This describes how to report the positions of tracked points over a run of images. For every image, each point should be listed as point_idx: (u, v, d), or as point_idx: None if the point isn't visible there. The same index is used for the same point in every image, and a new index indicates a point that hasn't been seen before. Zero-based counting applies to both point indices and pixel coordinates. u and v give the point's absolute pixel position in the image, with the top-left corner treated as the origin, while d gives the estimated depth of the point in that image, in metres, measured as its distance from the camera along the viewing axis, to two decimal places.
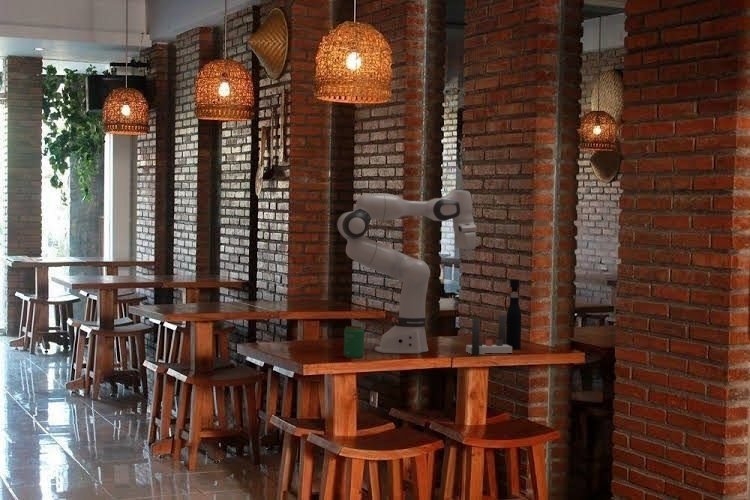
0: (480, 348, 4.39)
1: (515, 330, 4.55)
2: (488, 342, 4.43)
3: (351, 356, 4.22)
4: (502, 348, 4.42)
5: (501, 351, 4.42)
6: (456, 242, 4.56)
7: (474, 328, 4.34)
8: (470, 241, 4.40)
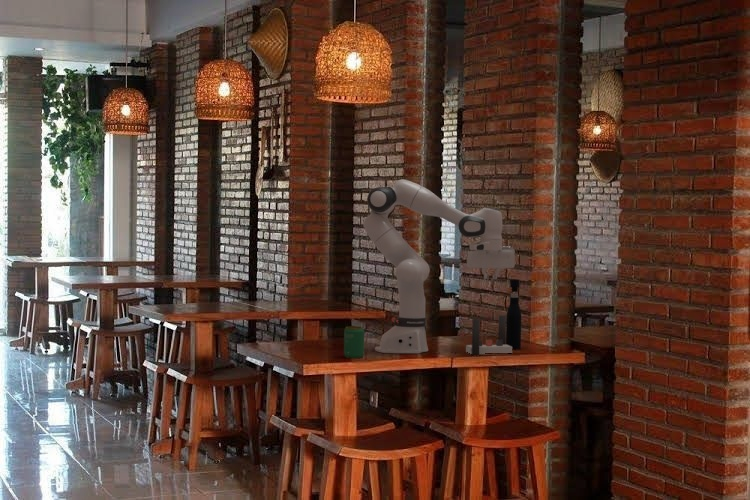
0: (480, 348, 4.39)
1: (515, 330, 4.55)
2: (488, 342, 4.43)
3: (351, 356, 4.22)
4: (502, 348, 4.42)
5: (501, 351, 4.42)
6: None
7: (474, 328, 4.34)
8: (468, 259, 4.41)
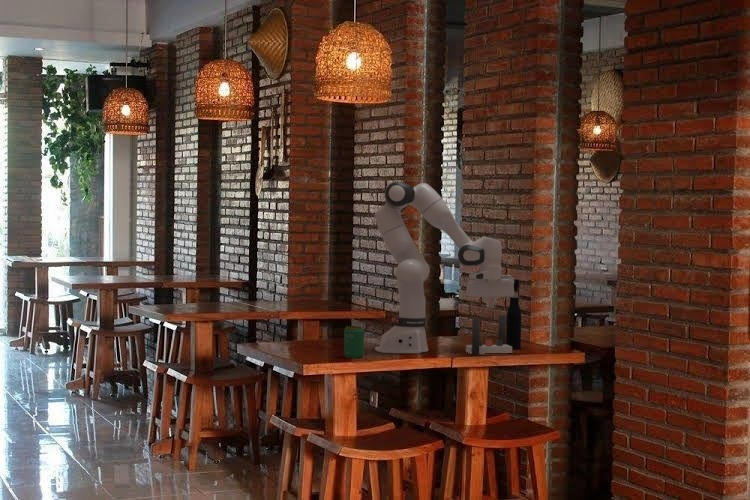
0: (480, 348, 4.39)
1: (515, 330, 4.55)
2: (488, 342, 4.43)
3: (351, 356, 4.22)
4: (502, 348, 4.42)
5: (501, 351, 4.42)
6: None
7: (474, 328, 4.34)
8: (467, 288, 4.41)
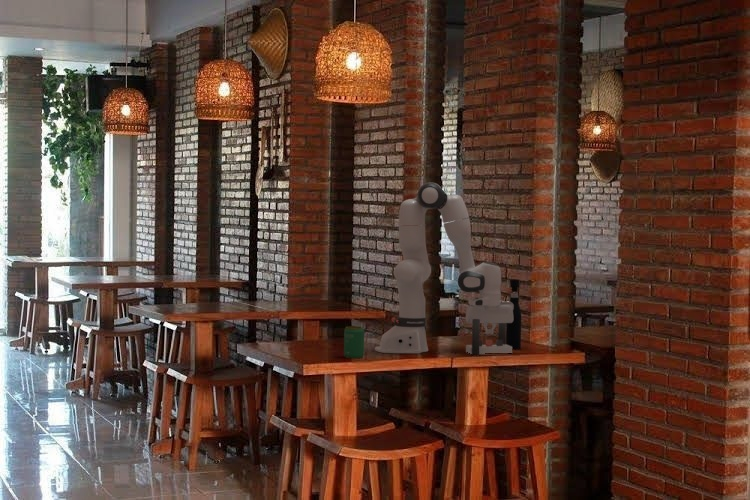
0: (480, 348, 4.39)
1: (515, 330, 4.55)
2: (488, 342, 4.43)
3: (351, 356, 4.22)
4: (502, 348, 4.42)
5: (501, 351, 4.42)
6: None
7: (474, 328, 4.34)
8: (466, 314, 4.42)
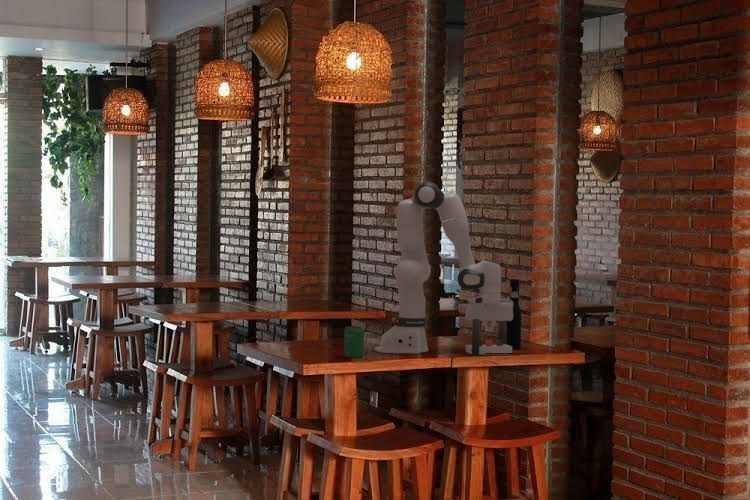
0: (480, 348, 4.39)
1: (515, 330, 4.55)
2: (488, 342, 4.43)
3: (351, 356, 4.22)
4: (502, 348, 4.42)
5: (501, 351, 4.42)
6: None
7: (474, 328, 4.34)
8: (466, 312, 4.42)
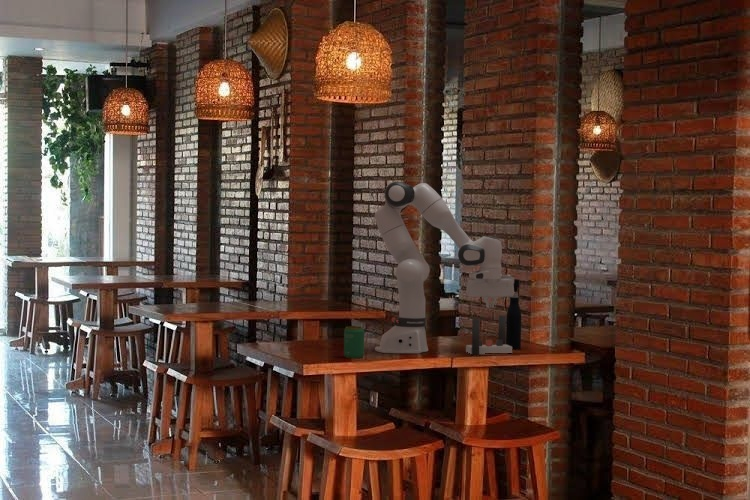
0: (480, 348, 4.39)
1: (515, 330, 4.55)
2: (488, 342, 4.43)
3: (351, 356, 4.22)
4: (502, 348, 4.42)
5: (501, 351, 4.42)
6: None
7: (474, 328, 4.34)
8: (467, 288, 4.41)
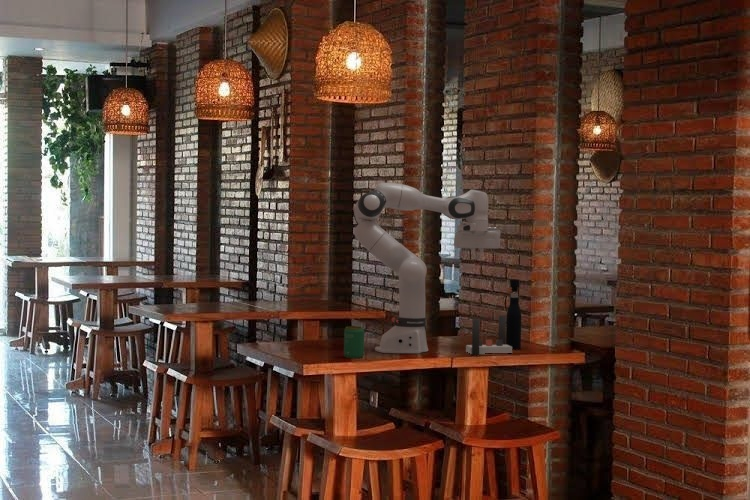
0: (480, 348, 4.39)
1: (515, 330, 4.55)
2: (488, 342, 4.43)
3: (351, 356, 4.22)
4: (502, 348, 4.42)
5: (501, 351, 4.42)
6: None
7: (474, 328, 4.34)
8: (455, 240, 4.57)
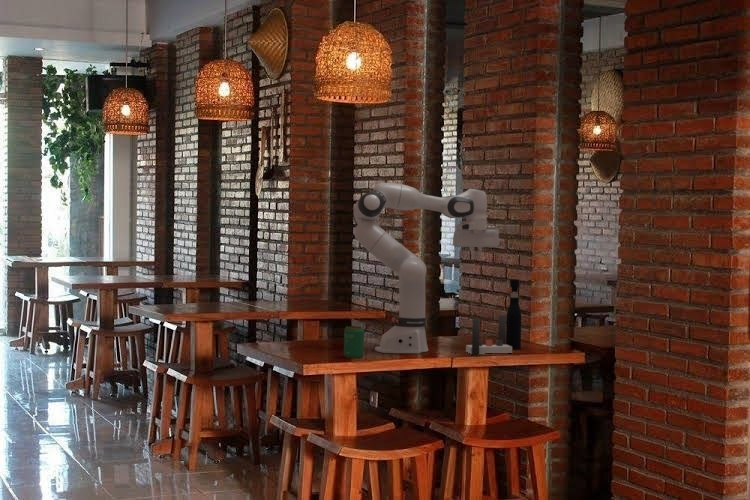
0: (480, 348, 4.39)
1: (515, 330, 4.55)
2: (488, 342, 4.43)
3: (351, 356, 4.22)
4: (502, 348, 4.42)
5: (501, 351, 4.42)
6: None
7: (474, 328, 4.34)
8: (453, 238, 4.58)
